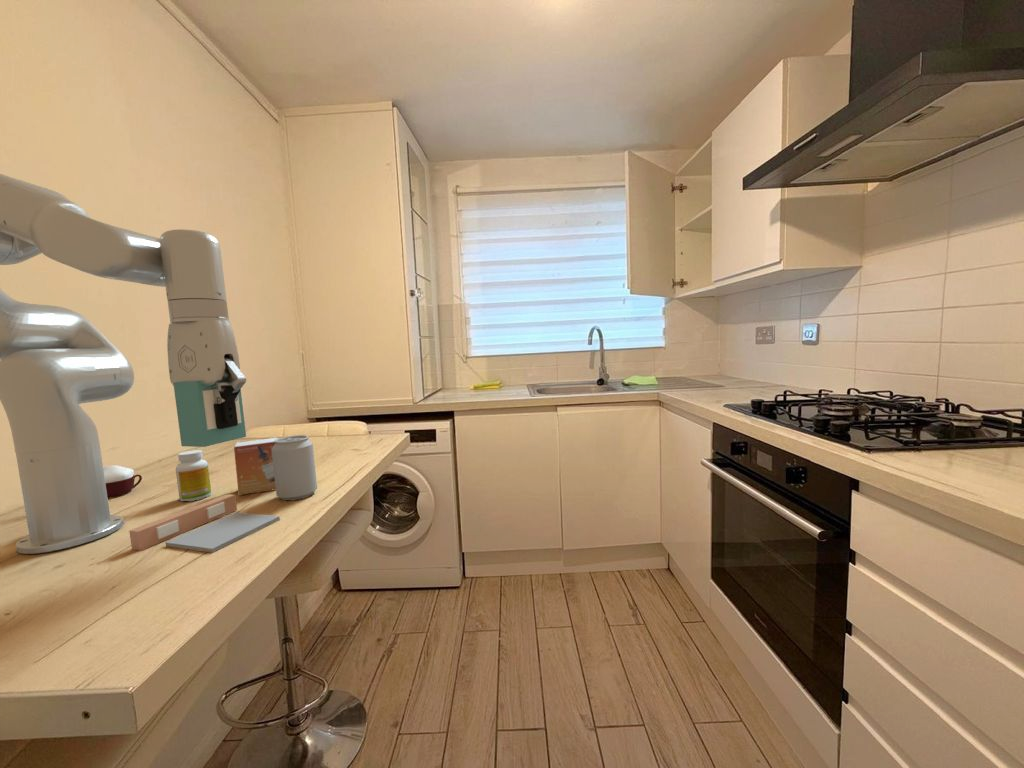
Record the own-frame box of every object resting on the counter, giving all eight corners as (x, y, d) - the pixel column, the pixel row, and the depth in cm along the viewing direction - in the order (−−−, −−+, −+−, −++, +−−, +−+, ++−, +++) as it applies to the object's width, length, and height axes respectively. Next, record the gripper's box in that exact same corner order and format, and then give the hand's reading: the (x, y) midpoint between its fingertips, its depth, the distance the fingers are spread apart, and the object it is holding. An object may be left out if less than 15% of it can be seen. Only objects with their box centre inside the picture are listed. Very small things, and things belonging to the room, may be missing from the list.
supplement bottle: (216, 495, 90) (210, 450, 89) (186, 504, 86) (180, 456, 85) (204, 491, 93) (199, 448, 92) (175, 500, 88) (169, 454, 88)
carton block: (224, 436, 73) (217, 378, 72) (247, 436, 71) (240, 377, 70) (181, 446, 66) (173, 382, 66) (205, 446, 65) (197, 381, 64)
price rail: (131, 549, 66) (129, 530, 66) (229, 509, 81) (227, 494, 81) (141, 550, 65) (139, 531, 65) (238, 510, 80) (236, 494, 80)
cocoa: (143, 488, 99) (139, 437, 99) (141, 494, 94) (137, 440, 94) (86, 497, 94) (81, 443, 93) (80, 504, 89) (76, 446, 88)
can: (306, 501, 83) (300, 440, 82) (268, 503, 83) (262, 442, 82) (324, 488, 91) (318, 432, 90) (289, 489, 91) (283, 434, 90)
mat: (166, 546, 66) (165, 542, 66) (237, 515, 78) (236, 512, 78) (212, 552, 63) (212, 548, 63) (279, 519, 74) (279, 516, 74)
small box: (238, 496, 88) (232, 446, 87) (241, 489, 93) (235, 442, 92) (282, 488, 92) (276, 440, 91) (282, 482, 97) (277, 436, 96)
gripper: (135, 316, 66) (152, 432, 68) (216, 307, 61) (231, 432, 62) (185, 318, 73) (199, 422, 75) (261, 310, 68) (274, 422, 70)
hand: (213, 426), depth 69 cm, fingers closed on carton block, 5 cm apart
